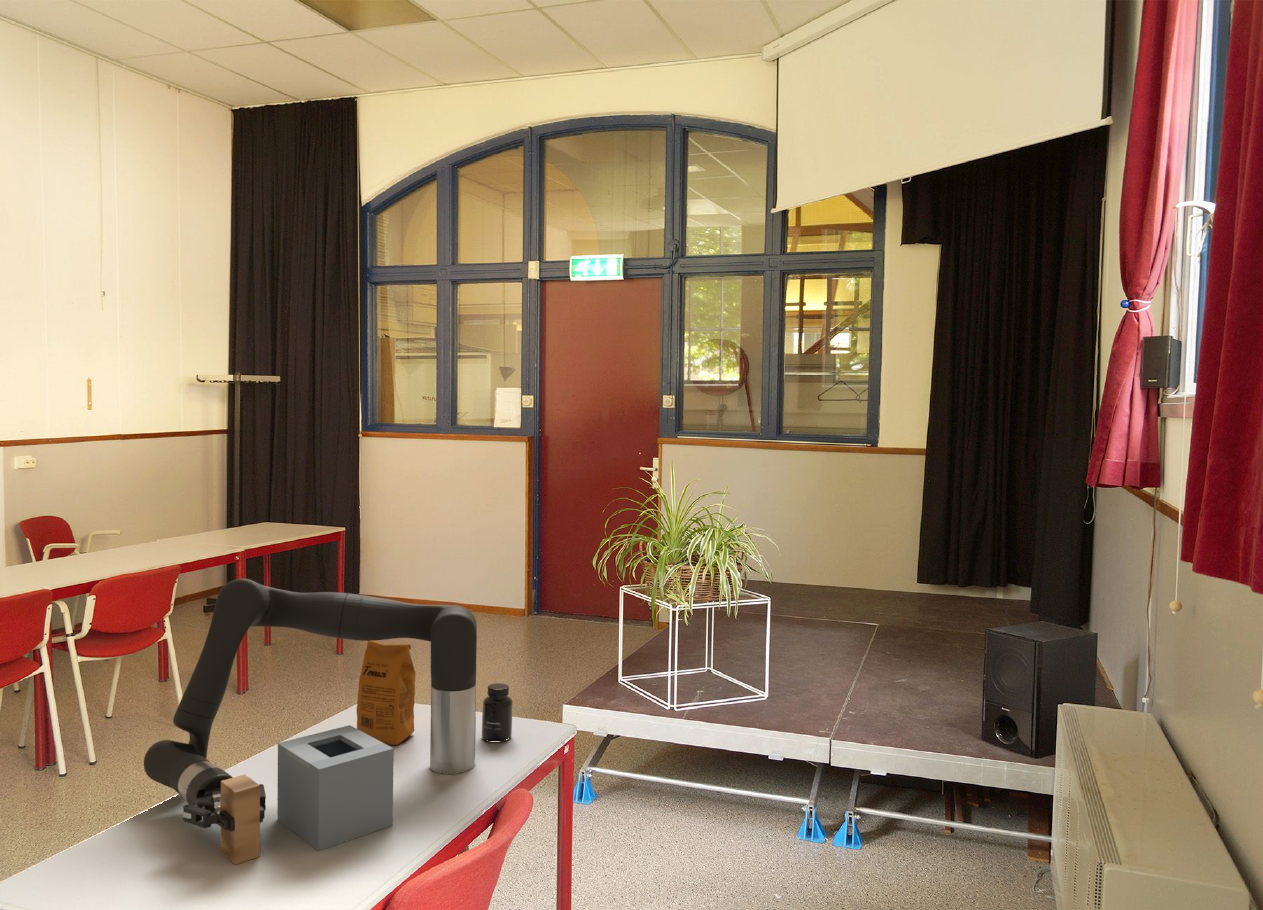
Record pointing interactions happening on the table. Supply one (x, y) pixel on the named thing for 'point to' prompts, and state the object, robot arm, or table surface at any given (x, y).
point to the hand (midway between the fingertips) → (247, 820)
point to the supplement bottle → (497, 713)
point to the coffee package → (386, 693)
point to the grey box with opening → (335, 786)
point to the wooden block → (241, 818)
